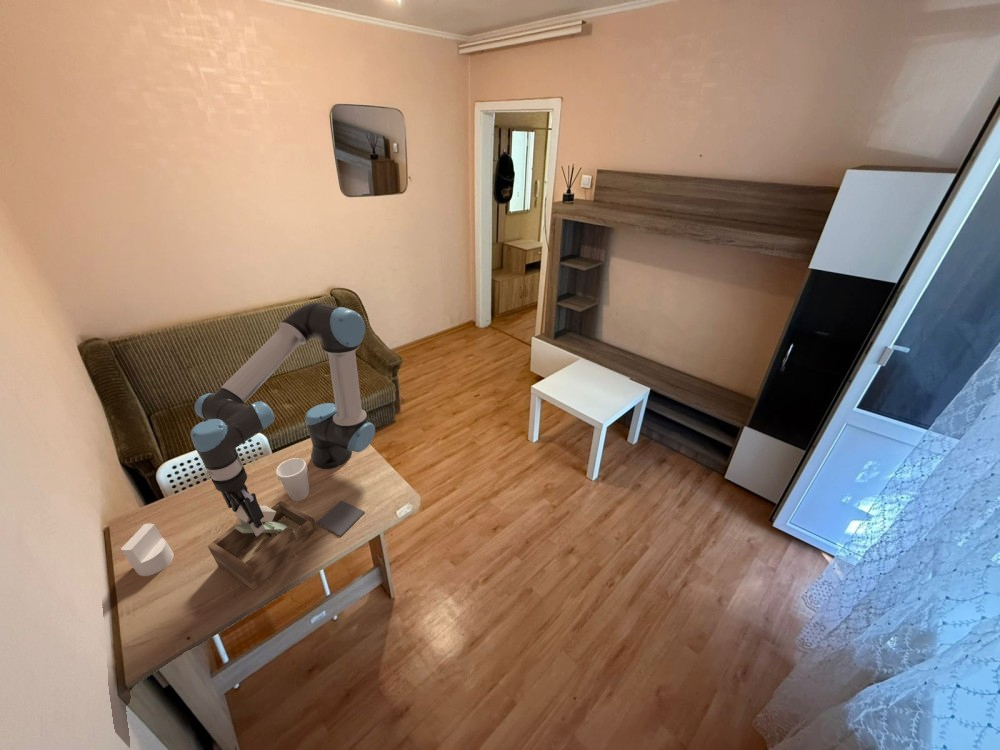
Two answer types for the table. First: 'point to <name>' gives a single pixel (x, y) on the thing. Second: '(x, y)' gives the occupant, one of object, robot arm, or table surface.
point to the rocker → (269, 527)
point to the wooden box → (270, 554)
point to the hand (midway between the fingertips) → (253, 528)
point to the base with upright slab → (148, 551)
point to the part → (265, 510)
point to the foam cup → (294, 478)
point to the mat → (340, 518)
